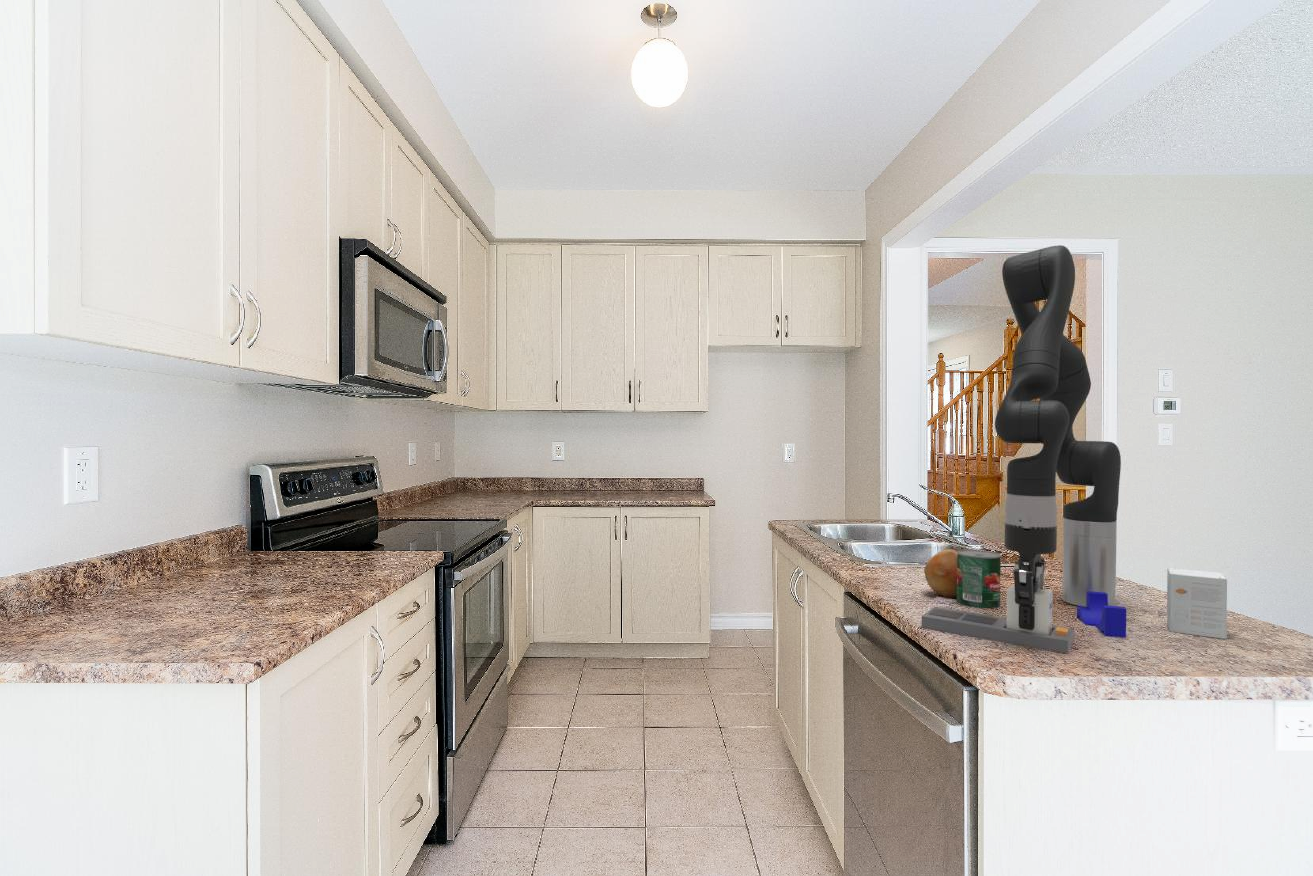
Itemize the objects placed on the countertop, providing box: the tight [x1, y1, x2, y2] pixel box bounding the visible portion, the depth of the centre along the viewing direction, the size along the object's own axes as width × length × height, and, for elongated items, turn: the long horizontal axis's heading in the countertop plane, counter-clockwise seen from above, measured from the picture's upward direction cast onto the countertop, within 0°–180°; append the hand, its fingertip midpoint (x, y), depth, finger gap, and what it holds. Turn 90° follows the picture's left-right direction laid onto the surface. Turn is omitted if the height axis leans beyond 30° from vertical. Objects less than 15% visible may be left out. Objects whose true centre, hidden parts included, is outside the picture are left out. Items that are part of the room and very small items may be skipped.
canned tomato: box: [956, 549, 1002, 609], centre depth 134 cm, size 8×8×11 cm
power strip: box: [921, 606, 1075, 655], centre depth 114 cm, size 8×22×4 cm, turn 52°
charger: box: [1006, 584, 1054, 635], centre depth 111 cm, size 4×6×8 cm
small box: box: [1166, 567, 1228, 640], centre depth 119 cm, size 8×6×10 cm
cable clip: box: [1076, 591, 1127, 639], centre depth 119 cm, size 12×4×6 cm, turn 161°
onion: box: [923, 548, 959, 599], centre depth 143 cm, size 10×10×10 cm
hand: (1029, 624), depth 111 cm, fingers closed on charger, 4 cm apart
